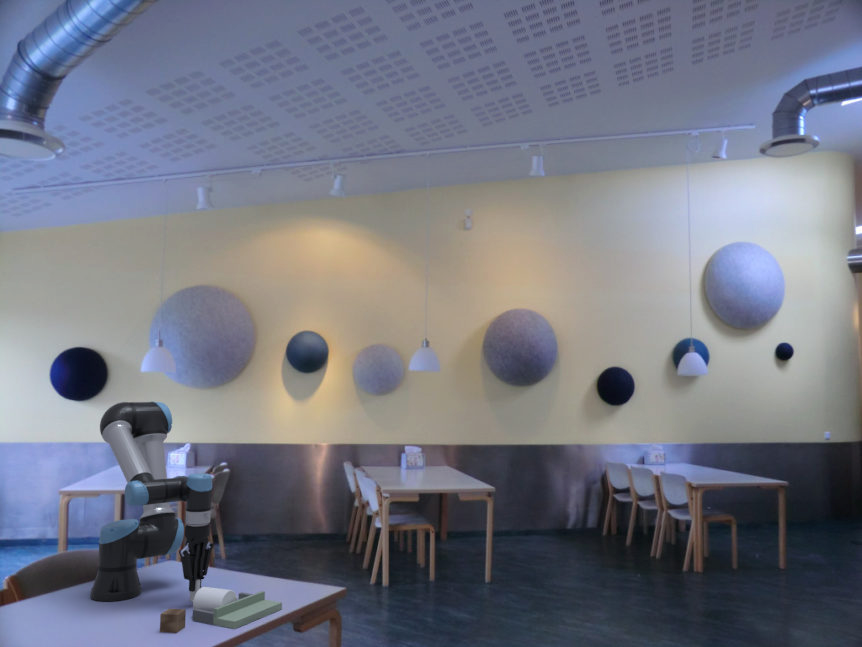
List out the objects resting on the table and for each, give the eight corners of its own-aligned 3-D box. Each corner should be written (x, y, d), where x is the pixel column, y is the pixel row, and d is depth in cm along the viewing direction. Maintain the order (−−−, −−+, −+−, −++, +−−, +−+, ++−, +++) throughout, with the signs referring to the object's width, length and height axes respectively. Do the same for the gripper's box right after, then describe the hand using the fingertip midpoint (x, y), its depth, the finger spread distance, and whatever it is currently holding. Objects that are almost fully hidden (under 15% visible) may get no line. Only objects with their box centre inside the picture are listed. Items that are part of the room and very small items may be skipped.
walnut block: (159, 632, 201) (160, 613, 201) (168, 626, 206) (169, 608, 206) (176, 633, 200) (177, 614, 201) (185, 627, 205) (185, 609, 205)
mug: (220, 622, 210) (221, 594, 210) (192, 618, 213) (193, 590, 214) (244, 610, 221) (245, 583, 222) (217, 607, 224) (218, 580, 225)
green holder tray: (192, 620, 211) (193, 604, 211) (241, 601, 230) (242, 587, 230) (234, 629, 204) (235, 612, 204) (281, 609, 222) (282, 594, 223)
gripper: (191, 528, 219) (187, 608, 218) (221, 521, 231) (218, 597, 229) (173, 526, 223) (169, 604, 221) (203, 519, 234) (200, 593, 233)
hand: (194, 601), depth 225 cm, fingers closed
